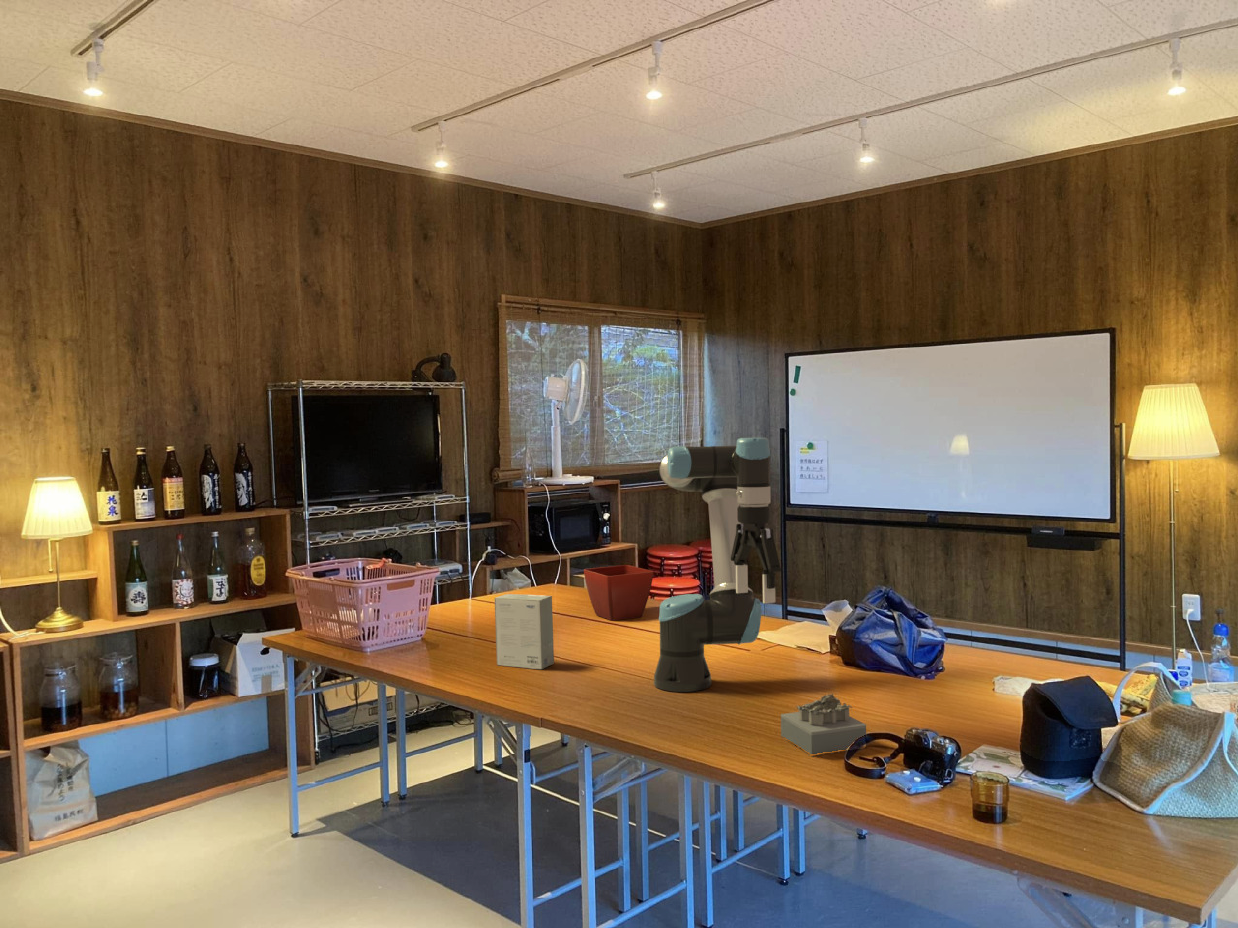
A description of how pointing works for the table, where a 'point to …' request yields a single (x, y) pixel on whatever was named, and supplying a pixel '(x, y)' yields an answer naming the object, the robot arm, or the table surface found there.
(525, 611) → the hard drive box
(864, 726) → the plinth
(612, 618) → the plant pot
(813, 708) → the egg carton
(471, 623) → the table surface
